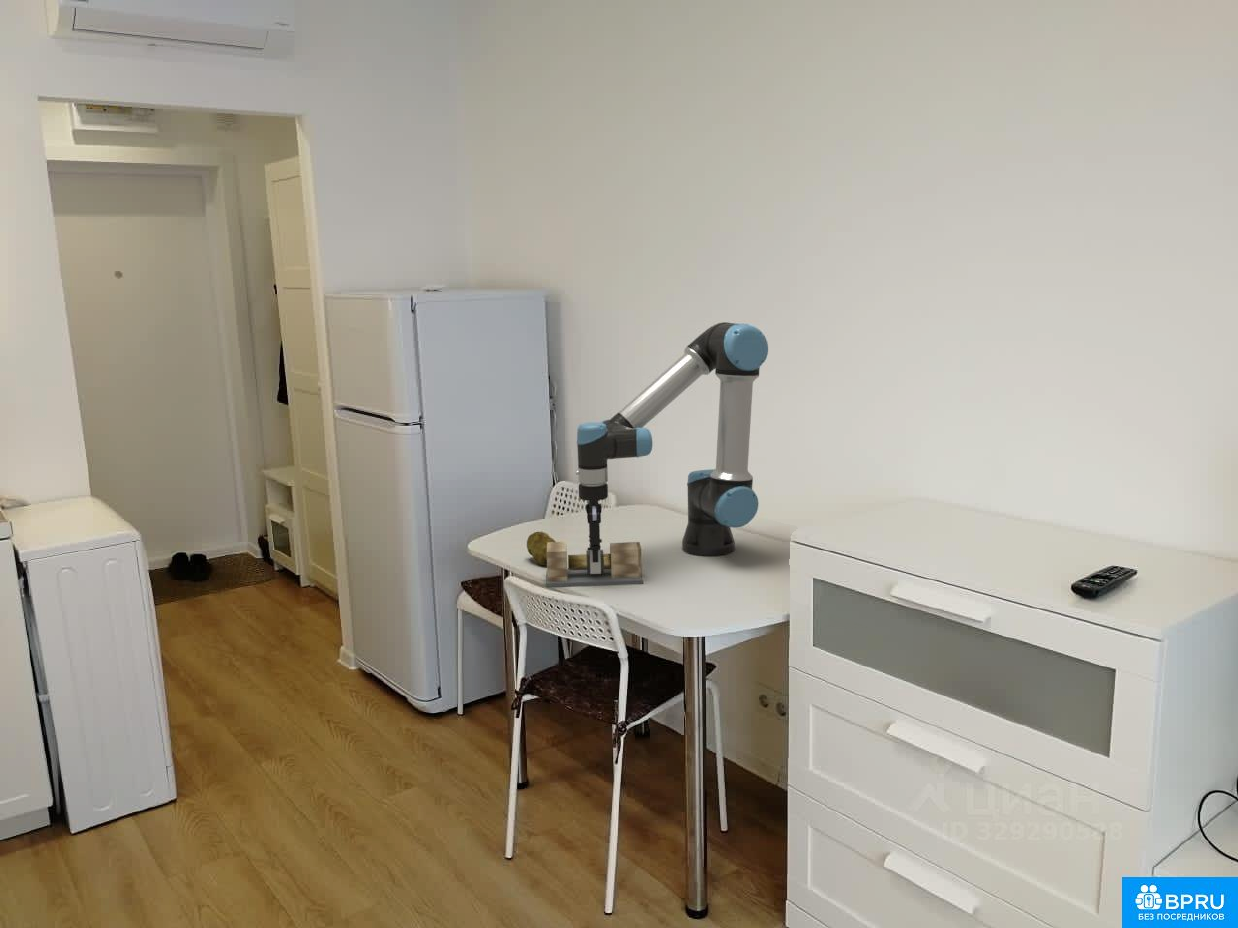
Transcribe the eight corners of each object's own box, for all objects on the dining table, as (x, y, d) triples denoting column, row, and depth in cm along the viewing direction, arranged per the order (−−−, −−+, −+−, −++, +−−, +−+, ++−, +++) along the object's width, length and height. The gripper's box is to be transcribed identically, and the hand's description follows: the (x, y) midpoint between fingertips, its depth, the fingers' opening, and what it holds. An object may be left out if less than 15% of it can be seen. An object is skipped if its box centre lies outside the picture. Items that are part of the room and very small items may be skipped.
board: (640, 569, 262) (639, 566, 262) (643, 583, 250) (643, 580, 250) (546, 573, 261) (546, 569, 261) (545, 587, 249) (545, 583, 249)
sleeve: (639, 569, 259) (639, 541, 258) (641, 577, 252) (641, 549, 251) (610, 570, 259) (609, 542, 258) (611, 578, 252) (611, 550, 251)
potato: (534, 570, 263) (532, 541, 262) (525, 557, 276) (524, 530, 274) (564, 567, 266) (563, 539, 264) (553, 554, 278) (552, 527, 276)
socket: (567, 570, 259) (566, 541, 258) (567, 580, 251) (566, 551, 249) (548, 571, 259) (547, 542, 258) (547, 581, 250) (546, 551, 249)
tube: (633, 567, 258) (632, 548, 257) (634, 572, 253) (633, 553, 253) (568, 569, 257) (568, 551, 256) (568, 574, 253) (568, 555, 252)
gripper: (578, 476, 259) (580, 561, 264) (578, 491, 242) (581, 581, 246) (606, 475, 259) (608, 560, 264) (609, 490, 242) (611, 580, 247)
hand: (595, 570), depth 255 cm, fingers closed on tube, 4 cm apart
